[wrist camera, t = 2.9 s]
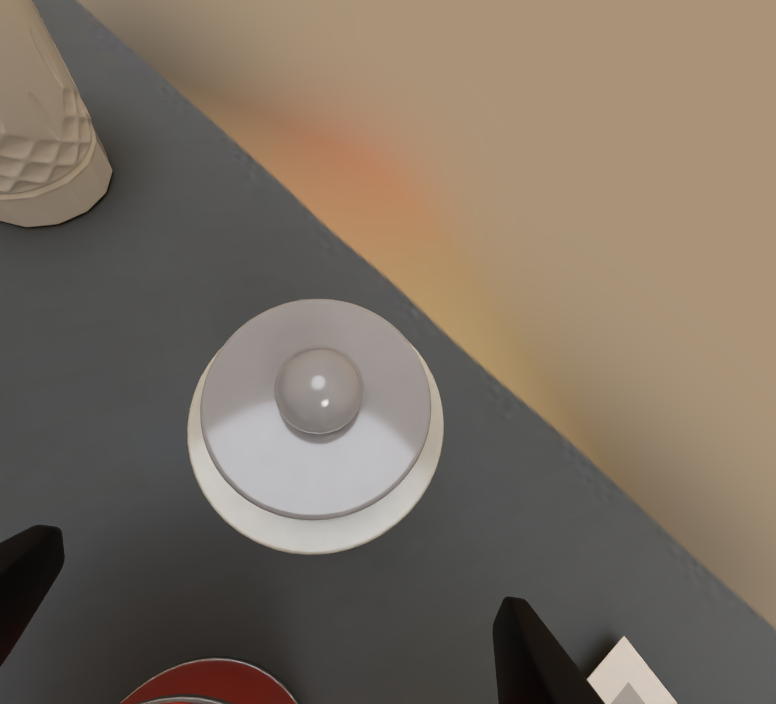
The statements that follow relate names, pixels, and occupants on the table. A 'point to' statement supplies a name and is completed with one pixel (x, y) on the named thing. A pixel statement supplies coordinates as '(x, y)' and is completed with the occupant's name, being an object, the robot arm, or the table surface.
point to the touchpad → (627, 679)
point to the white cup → (43, 128)
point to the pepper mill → (315, 427)
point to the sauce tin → (213, 684)
